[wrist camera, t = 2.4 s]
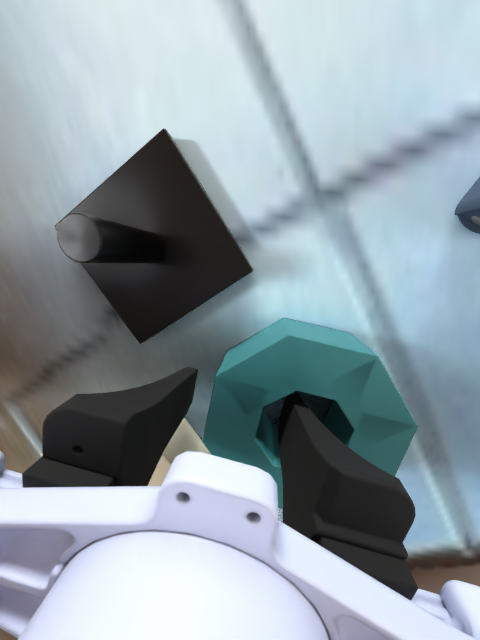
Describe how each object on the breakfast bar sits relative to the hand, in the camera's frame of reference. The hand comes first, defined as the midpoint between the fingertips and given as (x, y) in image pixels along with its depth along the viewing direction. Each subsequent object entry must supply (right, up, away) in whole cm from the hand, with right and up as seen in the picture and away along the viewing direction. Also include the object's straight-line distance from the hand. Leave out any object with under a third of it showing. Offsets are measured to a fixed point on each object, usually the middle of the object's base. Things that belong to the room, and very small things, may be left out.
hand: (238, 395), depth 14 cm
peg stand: (-5, +8, 0) cm, 10 cm away
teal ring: (+4, 0, +1) cm, 4 cm away
